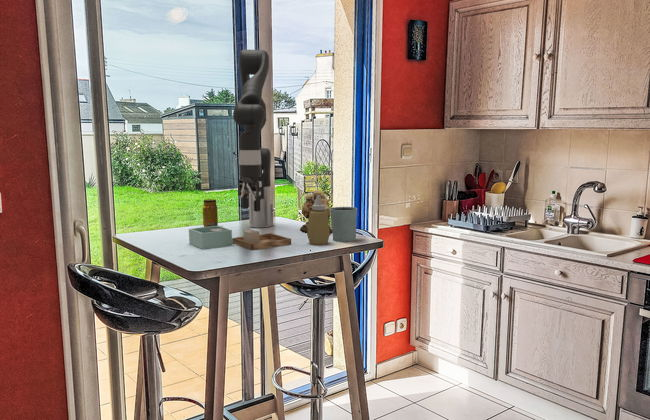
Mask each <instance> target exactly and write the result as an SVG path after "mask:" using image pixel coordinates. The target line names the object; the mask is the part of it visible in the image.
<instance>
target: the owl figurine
mask: <svg viewBox="0 0 650 420" xmlns="http://www.w3.org/2000/svg"><path fill="white" fill-rule="evenodd" d="M317 195H320V197H321V201H322V205H325V210H324V211H326V212H328V221H330V217H331V212H330V204H329V202H330V201H329V199H328V198H327V196H326V195H325V193H324V192H323V191H321V190H320V189H315V190H313V191H312V193H308V194H306V195H305V196H304V199H305V201H304V202H303V205H302V209H301V214H302V215H303V217H304V218H305V219H307V220H308V221H307V222H305V224H303V225H302V226H300V228H299V231H300V232H301V233H303V234H306V233H307V232H308V222H309V213H310V212H311V211H313V210H312V205H315V201H316V196H317ZM329 231H330V235H332V232H333V231H332V227H330V226H329Z"/></svg>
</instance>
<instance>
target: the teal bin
mask: <svg viewBox="0 0 650 420" xmlns="http://www.w3.org/2000/svg"><path fill="white" fill-rule="evenodd" d="M220 226H221V225H218V226H211V227H203V226H202V227H194V228H192V227H191V228H189V229H188V242H189V245H191V246H194V247H195V248H199V249H200V250H206V249H214V248H221V247H223V248H224V247H228V246H230V247H231V246H233V244H232V238H233V232H232V231H233V230H232V229H230V228H226V227H224V226H223V227H220ZM219 228H220V229H223V230H224V231H216V232H209V230H210V229H219Z"/></svg>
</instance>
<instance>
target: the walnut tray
mask: <svg viewBox="0 0 650 420" xmlns="http://www.w3.org/2000/svg"><path fill="white" fill-rule="evenodd" d="M232 245H236V246H238V247H241V248H244V249H246V250H250V251H256V250H257V251H258V250H262V249H270V248H276V247H284V246H290V245H291V246H292V238H290V237H286V236H282V235H279V234H275V233H271V232H269V233H268V232H267V233H261V234H260V243H254V244H251V243H248V242H245V241H244V236H239V237H232Z"/></svg>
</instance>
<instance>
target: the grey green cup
mask: <svg viewBox="0 0 650 420" xmlns="http://www.w3.org/2000/svg"><path fill="white" fill-rule="evenodd" d="M329 208H330V207H329ZM330 217H331V229H332V231H333V232H332V234H331V236H332V240H333V241H334V242H336V243H337V242H338V243H351V242H356V240H357V220H358V219H357V218H358V208H357V207H354V206H334V207H331V208H330Z"/></svg>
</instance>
